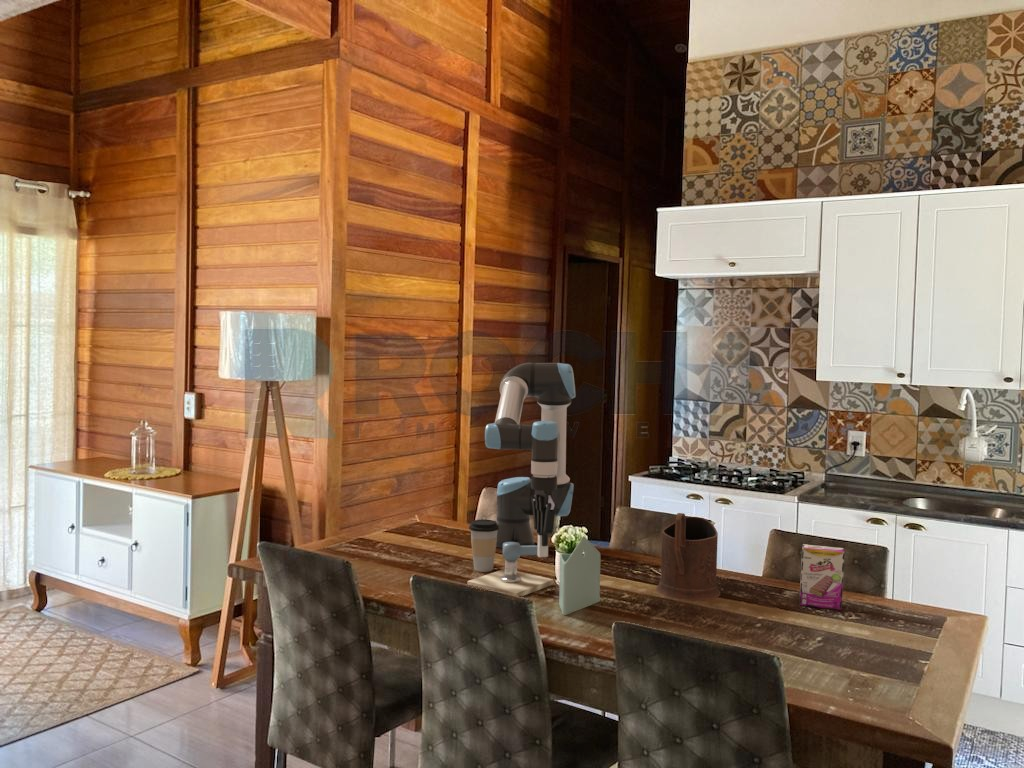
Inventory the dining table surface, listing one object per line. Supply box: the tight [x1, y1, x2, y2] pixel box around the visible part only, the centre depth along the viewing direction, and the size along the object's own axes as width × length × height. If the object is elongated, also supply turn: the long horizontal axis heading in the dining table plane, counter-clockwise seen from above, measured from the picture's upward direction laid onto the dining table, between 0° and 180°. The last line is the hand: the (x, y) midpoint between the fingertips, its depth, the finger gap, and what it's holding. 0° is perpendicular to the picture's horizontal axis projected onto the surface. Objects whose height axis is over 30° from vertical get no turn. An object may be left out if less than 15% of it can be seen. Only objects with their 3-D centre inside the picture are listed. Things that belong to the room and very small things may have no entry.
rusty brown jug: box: [655, 512, 722, 602], centre depth 248 cm, size 18×24×25 cm
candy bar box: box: [799, 543, 845, 611], centre depth 239 cm, size 11×5×16 cm, turn 71°
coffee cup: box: [468, 518, 499, 573], centre depth 270 cm, size 9×9×15 cm
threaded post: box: [500, 559, 521, 583], centre depth 253 cm, size 6×6×6 cm
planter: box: [558, 535, 601, 616], centre depth 235 cm, size 16×8×20 cm, turn 140°
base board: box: [466, 568, 554, 597], centre depth 254 cm, size 18×18×2 cm
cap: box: [502, 542, 538, 560], centre depth 254 cm, size 12×5×4 cm, turn 99°
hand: (542, 556), depth 249 cm, fingers closed
